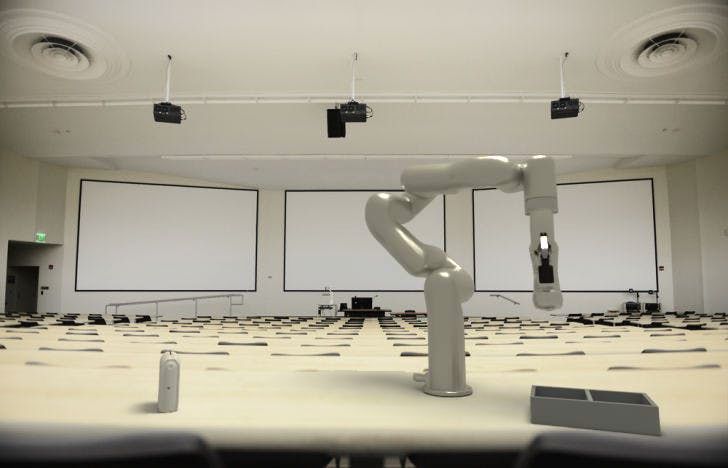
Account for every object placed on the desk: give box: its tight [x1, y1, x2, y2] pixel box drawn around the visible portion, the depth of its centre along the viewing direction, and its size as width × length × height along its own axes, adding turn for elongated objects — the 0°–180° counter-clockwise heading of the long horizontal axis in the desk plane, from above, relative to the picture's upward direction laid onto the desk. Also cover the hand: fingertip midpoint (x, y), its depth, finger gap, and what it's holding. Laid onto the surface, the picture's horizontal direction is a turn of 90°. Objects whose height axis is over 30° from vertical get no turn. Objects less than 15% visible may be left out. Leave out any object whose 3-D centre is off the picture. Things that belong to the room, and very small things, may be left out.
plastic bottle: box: [528, 233, 564, 312], centre depth 108 cm, size 6×7×20 cm
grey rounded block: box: [157, 351, 181, 413], centre depth 105 cm, size 10×4×12 cm, turn 25°
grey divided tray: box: [529, 384, 662, 437], centre depth 93 cm, size 22×12×5 cm, turn 69°
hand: (546, 282), depth 108 cm, fingers closed on plastic bottle, 5 cm apart
